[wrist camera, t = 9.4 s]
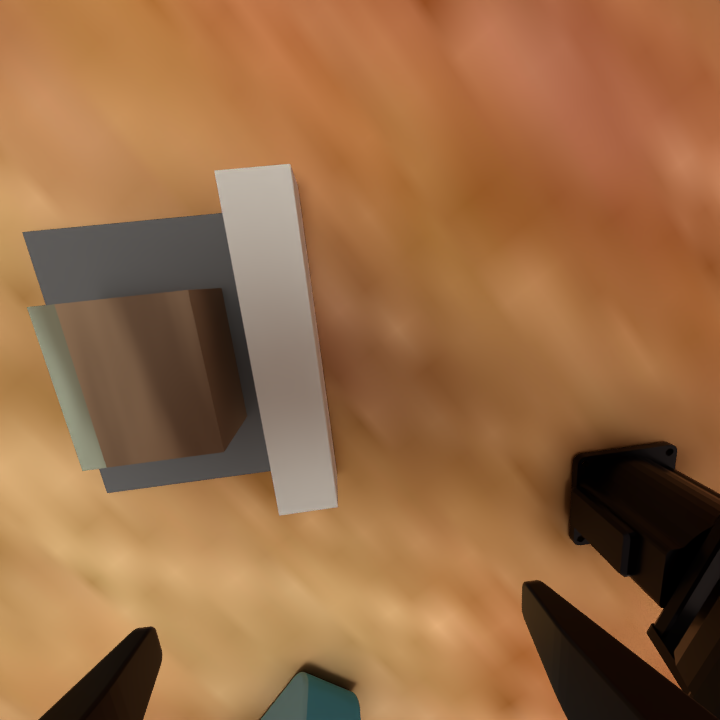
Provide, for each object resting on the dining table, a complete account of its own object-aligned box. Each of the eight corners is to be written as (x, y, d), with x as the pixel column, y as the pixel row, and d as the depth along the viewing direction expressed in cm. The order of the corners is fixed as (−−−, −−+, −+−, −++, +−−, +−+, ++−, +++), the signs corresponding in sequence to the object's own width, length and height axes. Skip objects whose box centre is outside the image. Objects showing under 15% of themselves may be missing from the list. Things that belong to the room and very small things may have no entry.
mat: (239, 212, 16) (238, 211, 16) (284, 466, 20) (283, 469, 19) (28, 233, 16) (22, 232, 16) (110, 489, 19) (107, 493, 19)
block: (187, 289, 13) (27, 307, 13) (224, 452, 15) (82, 470, 14) (221, 288, 17) (99, 301, 16) (247, 416, 18) (136, 430, 18)
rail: (297, 185, 16) (290, 163, 13) (337, 474, 20) (337, 507, 17) (235, 190, 16) (214, 170, 13) (287, 481, 20) (279, 515, 17)
